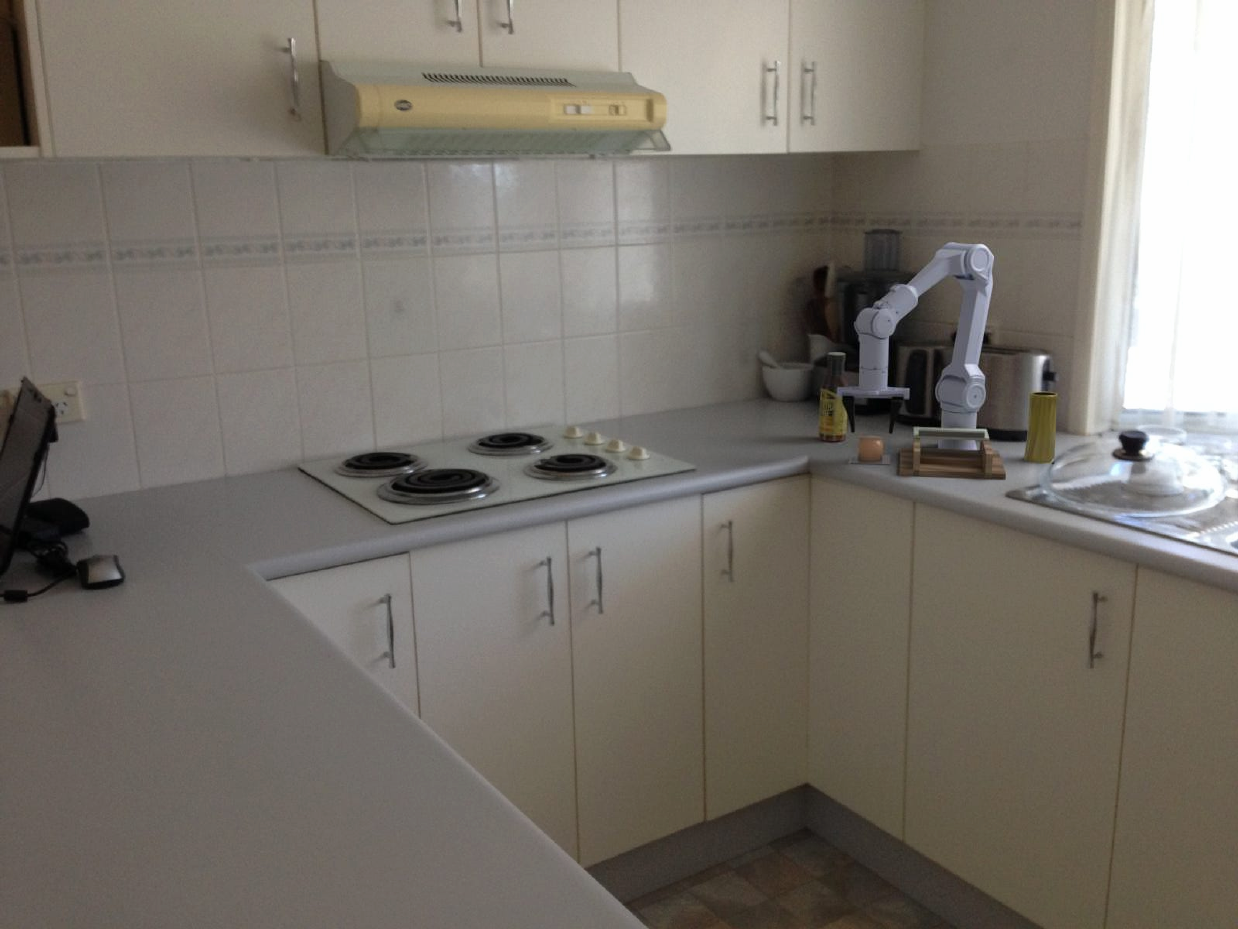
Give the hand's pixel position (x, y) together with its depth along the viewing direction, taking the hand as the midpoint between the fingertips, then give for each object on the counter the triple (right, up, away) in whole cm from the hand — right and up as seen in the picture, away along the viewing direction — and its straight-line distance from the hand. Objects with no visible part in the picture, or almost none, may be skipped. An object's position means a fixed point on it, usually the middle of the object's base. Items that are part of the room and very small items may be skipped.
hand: (871, 432), depth 239 cm
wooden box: (+15, -7, -4) cm, 17 cm away
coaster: (0, -6, +1) cm, 6 cm away
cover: (+16, -1, 0) cm, 16 cm away
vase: (+34, -6, -1) cm, 35 cm away
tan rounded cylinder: (0, -6, +1) cm, 6 cm away
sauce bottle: (-4, -1, +23) cm, 23 cm away
